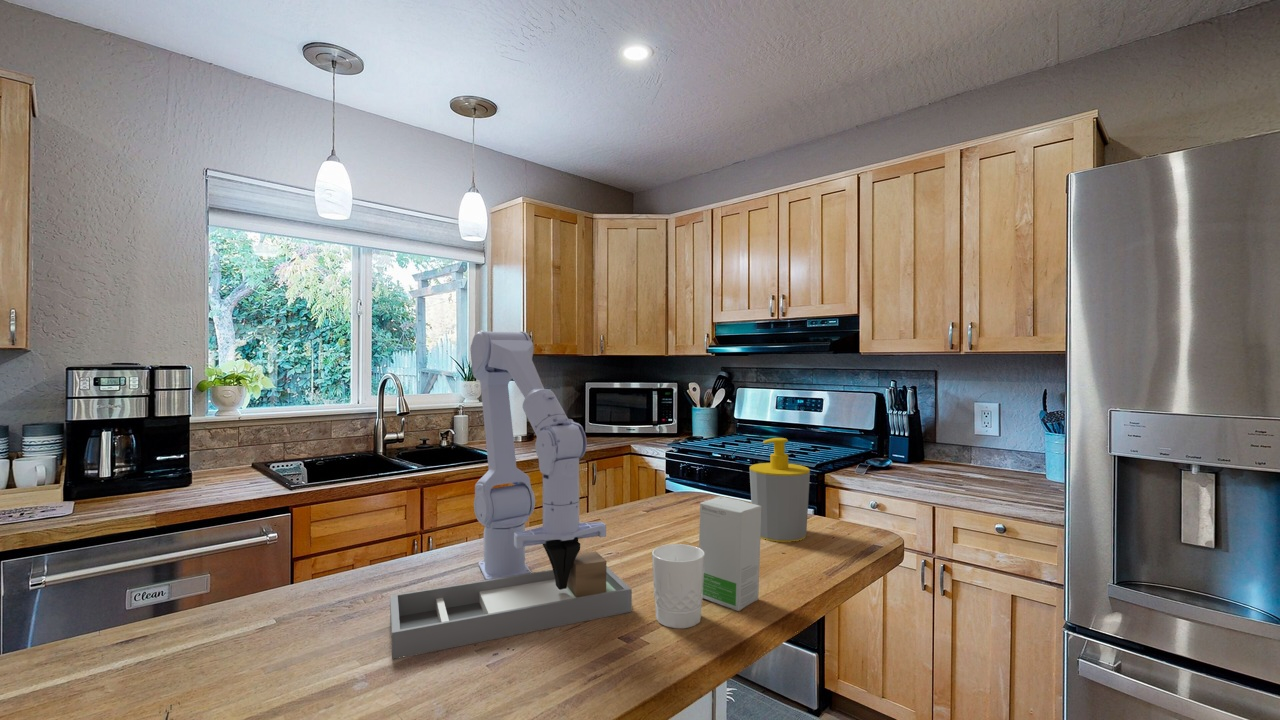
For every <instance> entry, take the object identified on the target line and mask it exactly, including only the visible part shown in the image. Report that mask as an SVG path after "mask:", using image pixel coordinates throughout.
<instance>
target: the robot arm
mask: <svg viewBox="0 0 1280 720" xmlns="http://www.w3.org/2000/svg"><path fill="white" fill-rule="evenodd" d="M469 350H470V359H471V370H472V376H473V378H474V379H476V380H478V381H479V382H480V393H481V394H480V395H481V402H482V403H481V404H482V405H481V406H482V414H483V422H484V423H483V424H484V434H485V444H486V455H487V456H486V457H487V466H488V470H487V472H485V473H484V475H482V477H480V478H479V479H478V481H477V482H476V483H475V484H474V499H473V510H474V515H475V517H476V519H477V521H478V522H479V523H480V524H481V525H482V526H484V530H483V561H482V560H480V561H478V567H479V569H480V570H481V572H482V575H483V578H484V580H490V579H496V578H503V577H509V576H515V575H522V574H528V573H532V571H531V569H530V568H529V567H528V565H527V564H526V547H529V546H537V545H542V546H543V548H544V550H545V552H546V554H547V557H548V559H549V561H550V565H551V568H552V570H553V572H554V576H555V582H556V586H557V587H558V589H559V590H561V589H566V588H567V582H568V578H569V574H570V571H571V568H572V565H573V563H574V560H575V558H576V556H577V554H579V553H580V550H581V543H580V542H579V540H580V539H588V538H597V537H599V538H606V537H607V524H605V523H604V522H603V521H598V522H597V521H596V522H580V459H582V458H583V457H584V456H585V454H586V451H587V448H588V447H587V445H588V444H587V436H586V432H585V430H584V427H583V425H581V424H580V423H579V422H576V421H574V420H573V419H572V418H568V416H567V415H566V412H565V410H564V409H563V407H562V405H561V404H560V401H559V400H558V397H557V396H556V394H555V392H554V391H553V390H551V389H548V388H545V387H544V385H543V383H542V381H541V378H540V375H539V373H538V371H537V368H536V366H535V364H534V361H533V356H534V343H533V342H532V339H531V337H530V334H529V333H527V332H526V331H518V332H516V331H515V332H514V331H512V332H511V331H485V330H478V331H476V332H475V335H474V336H473V338H472V341H471V344H470V349H469ZM511 380H513V381H514V383H515V384H516V386H517V388H518V389H519V391H520V393H521V394H522V395H523V397H524V400H523V402H522V409H523V411H524V413H525V416H526V417H527V420H528V422H529V423H530V426H531V427H532V430H533V431H534V434H535V436H536V440H535V443H534V447H535V448H534V449H535V452H536V453H535V454H536V456H537V459H538V469H539V472H540V473H541V474H542V526H539V527H535V528H531V529H527V530H526V526H525V525H526V523H527V522H529V517H530V516H531V515H532V514H533V512H534V511H535V510H534V509H535V508H536V506H535V505H536V497H535V493H534V491H533V488H532V485H531V479H530V476H529V475H528V474H527V473H525V472H524V471H522V470H521V469H519V468H518V467H517V459H516V450H515V439H514V431H513V430H514V429H513V420H512V410H511V403H510V393H509V392H510V391H509V384H510V382H511ZM506 484H513V485H506ZM498 485H499V486H500V485H506V486H501V487H495V486H498ZM493 487H494V488H493Z"/></svg>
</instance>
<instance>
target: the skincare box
mask: <svg viewBox="0 0 1280 720" xmlns="http://www.w3.org/2000/svg"><path fill="white" fill-rule="evenodd" d="M698 530H699V531H698V533H699V534H698V548H700V549H702V550H703V551H704V553H705V559H704V583H703V598H702V599H705V600H707V601H709V602H712V603H715V604H718V605H720V606H723V607H726V608H728V609H731V610H734V611H737V612H740V611H741V610H743V609H745V608H746V607H748V606H750V605H752V603H755V602H756V601H758V600H759V592H760V591H759V590H760V563H761V562H760V559H761V554H760V553H761V538H760V534H761V506H759V505H755V504H751V502H747V501H743V500H741V499H733V498H729V497H724V496H717V497H715V498H711V499H708V500H705V501H702V502H700V503H699V528H698Z"/></svg>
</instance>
